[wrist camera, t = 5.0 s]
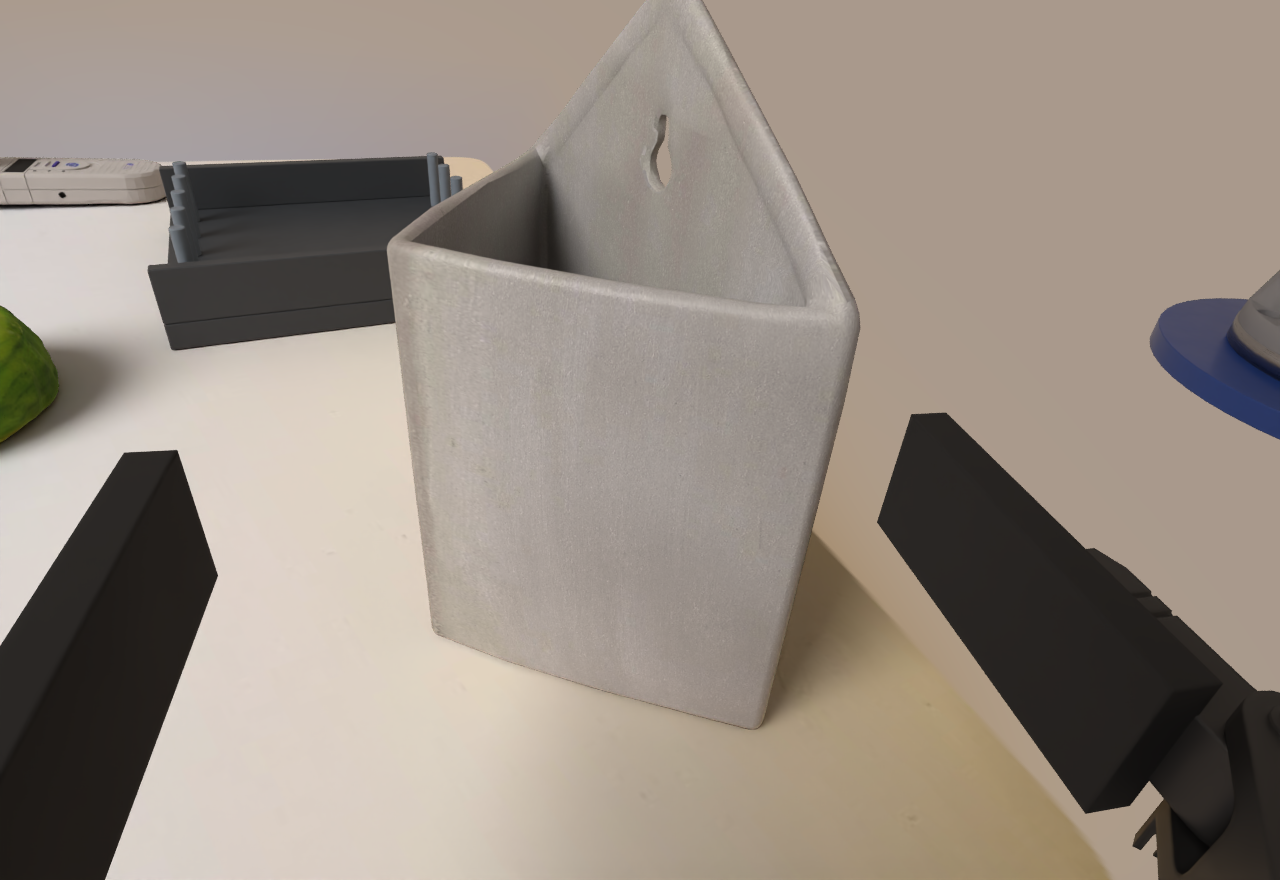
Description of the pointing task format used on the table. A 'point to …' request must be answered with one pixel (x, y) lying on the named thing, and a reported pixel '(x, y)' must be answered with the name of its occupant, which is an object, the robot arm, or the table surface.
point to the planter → (627, 384)
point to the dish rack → (286, 244)
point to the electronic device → (79, 181)
